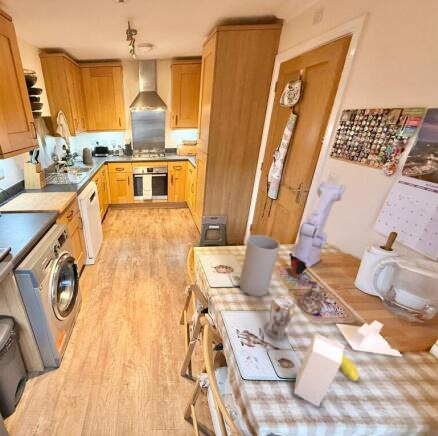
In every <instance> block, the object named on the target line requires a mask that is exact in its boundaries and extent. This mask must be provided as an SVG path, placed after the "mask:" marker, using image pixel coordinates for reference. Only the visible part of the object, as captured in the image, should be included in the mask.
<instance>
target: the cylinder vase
mask: <svg viewBox="0 0 438 436" xmlns="http://www.w3.org/2000/svg"><path fill="white" fill-rule="evenodd" d="M280 248H281V244H280V242H279V241H278V240H276V239H275V238H273V237H270V236H268V235H263V234H253V235H250V236H249V237H248V238H247V242H246V247H245V252H244V256H243V262H242V267H241V270H240V271H241V272H240V277H239V281H238V285H239V287H240V289H241V291H243V292H244V293H246V294H248V295H250V296H253V297H264V296H265V295H267V294H268V292H269V288H270V285H271V281H272V277H273V274H274V270H275V266H276V263H277V258H278V255H279V252H280Z"/></svg>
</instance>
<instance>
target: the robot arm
mask: <svg viewBox="0 0 438 436" xmlns="http://www.w3.org/2000/svg"><path fill="white" fill-rule="evenodd" d="M345 191H346V186H345V184H343V185H342V184H339V183H336V184H335V183H331V182H325V181H321V182H320V183H319V184H318V187H317V190H316V193H317V197H318V200H317V203H316V206H315V208H314V209H311V211H310V212H309V213H308V216H307V217H306V219H305V221H304V223H303V222H302V223H301V225H300V227H299V231H298V240H297V243H296V246H291V248H290V251H291V252H290V253H289V258H290V267H291V268H292V261H293V259H294V258H298V259H299V260H301V261H297V271H296V273H297V274H300V275H302V274H303V273H304V272H305V270H306V269H307V268H311V266H313V265H315V264H317V263H318V262H319V261H321V259H320V256H321V253H322V250H323V249H324V248H325V245H326V243H327V240H328V234H327V233H326V232H325V231H324V229H325V226H326V223H327V221H328V218H329V216H330V213H331V211H332V208H333V205H334V204H335V202H341V200H342V198H343V196H344V193H345Z"/></svg>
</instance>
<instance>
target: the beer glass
mask: <svg viewBox="0 0 438 436" xmlns="http://www.w3.org/2000/svg"><path fill="white" fill-rule="evenodd" d="M295 308H296V304H295V302H294V300H292V298H290V297H288V296H286V295H276V296H274V297H273V300H272V302H271V306H270V309H269V310H270V311H269V322H268V324H267V326H266V327H265V330H266V333H267V334H268V336H270V337H271V338H273V339H275V340H282V339H284V337H285V331H286V328H287V327H288V326H289V324H290V322H291V321H292V320H293V317H294V313H295Z"/></svg>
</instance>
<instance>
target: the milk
mask: <svg viewBox="0 0 438 436" xmlns="http://www.w3.org/2000/svg"><path fill="white" fill-rule="evenodd" d="M345 348H346V346H345V345H344V344H342V343H340V342H338V341H336V340H333V339H330V338H328V337H327V336H323V335H321V334H319V333H317V334H313V336H312V338H311V341H310V344H309V346H308V348H307V350H306V352H305V355H304V357H303V360H302V362H301V364H300V367H299V369H298V372H297V374H296V376H295V386H294V390H293V391H294V392H293V394H295V395H296V396H298V397H300V398H302V399H303V400H305V401H307V402H308V403H310V404H312V405H314V406H316V407H317V408H319V407H320V404H321V403H322V401H323V399H324V397H325V395H326V394H327V391H328V389H329V387H330V386H331V384H332V382H333V380H334V378H335V376H336V374H337V372H338V370H339V369H340V365H341V362H342V356H343V355H344V350H345Z"/></svg>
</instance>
